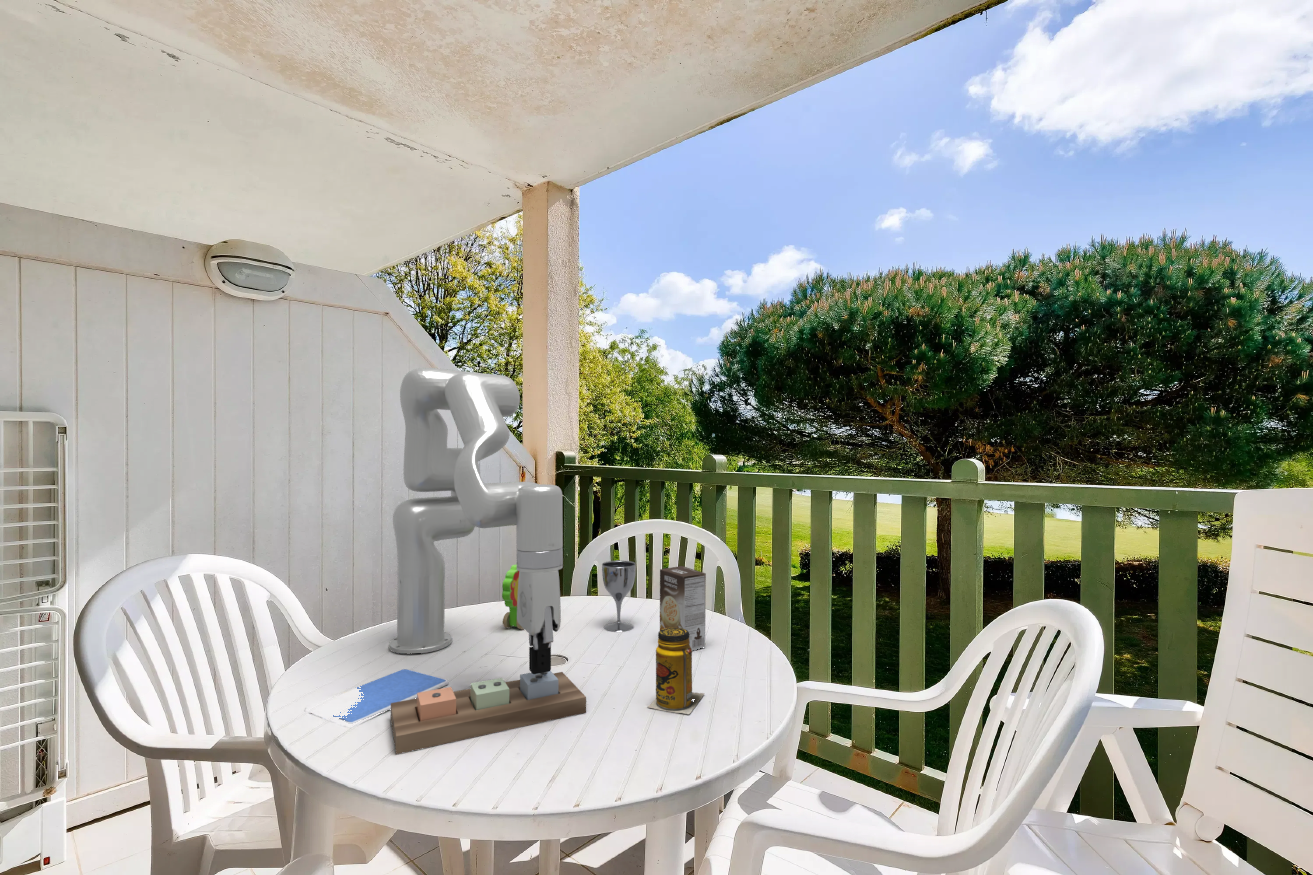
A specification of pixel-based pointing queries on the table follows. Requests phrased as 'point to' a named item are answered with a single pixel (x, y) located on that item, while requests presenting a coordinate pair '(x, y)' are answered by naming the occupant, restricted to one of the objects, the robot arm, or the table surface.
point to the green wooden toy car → (511, 597)
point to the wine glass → (618, 588)
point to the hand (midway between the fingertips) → (540, 670)
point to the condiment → (674, 672)
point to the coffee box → (684, 602)
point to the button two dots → (489, 693)
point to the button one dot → (436, 704)
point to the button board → (482, 716)
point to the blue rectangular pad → (390, 693)
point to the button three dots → (538, 685)
